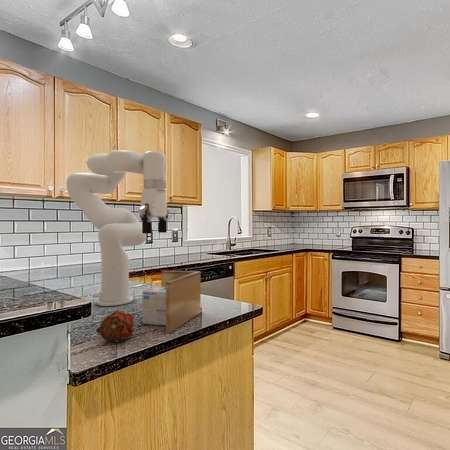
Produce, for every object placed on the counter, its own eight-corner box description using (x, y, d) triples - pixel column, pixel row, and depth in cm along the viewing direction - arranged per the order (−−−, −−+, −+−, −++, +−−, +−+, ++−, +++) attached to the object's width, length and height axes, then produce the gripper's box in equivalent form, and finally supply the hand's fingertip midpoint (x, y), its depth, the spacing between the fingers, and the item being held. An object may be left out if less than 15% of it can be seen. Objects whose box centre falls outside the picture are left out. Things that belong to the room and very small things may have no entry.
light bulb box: (184, 320, 106) (184, 287, 106) (172, 326, 100) (172, 291, 99) (155, 318, 108) (155, 286, 108) (141, 324, 102) (141, 290, 102)
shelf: (125, 330, 96) (124, 280, 96) (163, 311, 116) (163, 270, 116) (170, 332, 94) (169, 282, 94) (201, 313, 114) (200, 271, 114)
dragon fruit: (120, 353, 83) (109, 346, 92) (147, 327, 88) (134, 323, 97) (96, 330, 80) (87, 326, 89) (126, 305, 86) (115, 303, 94)
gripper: (158, 188, 127) (158, 232, 127) (129, 183, 110) (130, 233, 110) (176, 188, 126) (176, 232, 126) (150, 183, 109) (150, 233, 109)
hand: (154, 232), depth 118 cm, fingers open, 9 cm apart
